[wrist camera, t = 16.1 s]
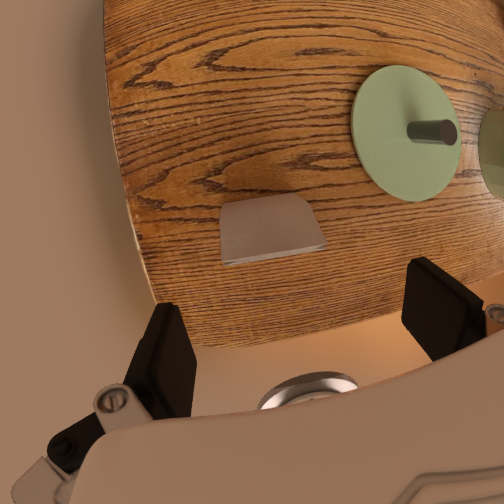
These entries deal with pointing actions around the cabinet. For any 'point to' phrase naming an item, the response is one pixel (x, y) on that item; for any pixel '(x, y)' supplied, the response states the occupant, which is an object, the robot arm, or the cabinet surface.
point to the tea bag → (268, 229)
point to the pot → (493, 151)
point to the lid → (405, 133)
